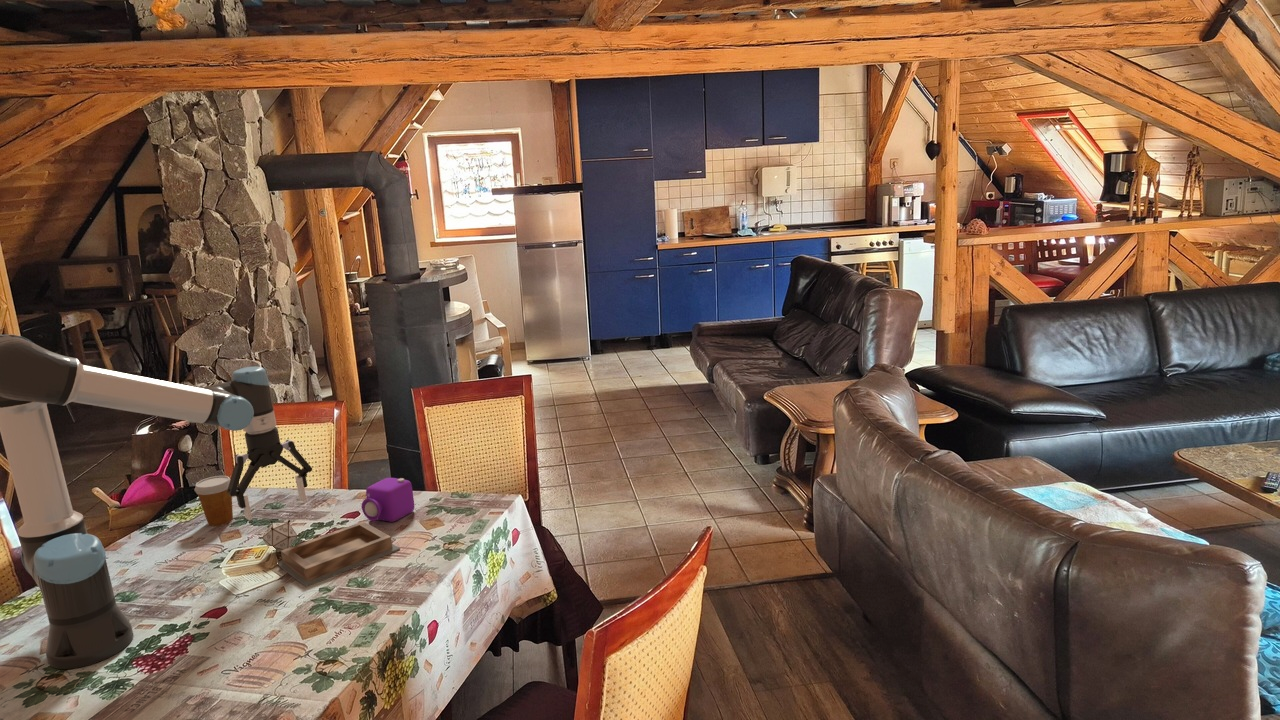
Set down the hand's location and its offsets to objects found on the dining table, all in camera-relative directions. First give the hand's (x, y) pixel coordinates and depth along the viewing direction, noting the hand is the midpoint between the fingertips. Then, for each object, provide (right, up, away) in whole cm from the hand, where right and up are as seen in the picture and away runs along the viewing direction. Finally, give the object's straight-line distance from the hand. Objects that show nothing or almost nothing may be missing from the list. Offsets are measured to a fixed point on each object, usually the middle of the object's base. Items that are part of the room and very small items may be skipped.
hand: (276, 509), depth 212 cm
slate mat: (+17, -11, -3) cm, 20 cm away
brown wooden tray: (+17, -11, -3) cm, 20 cm away
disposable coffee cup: (-26, -8, +24) cm, 36 cm away
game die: (+1, -11, +2) cm, 12 cm away
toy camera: (+23, -6, +19) cm, 30 cm away
